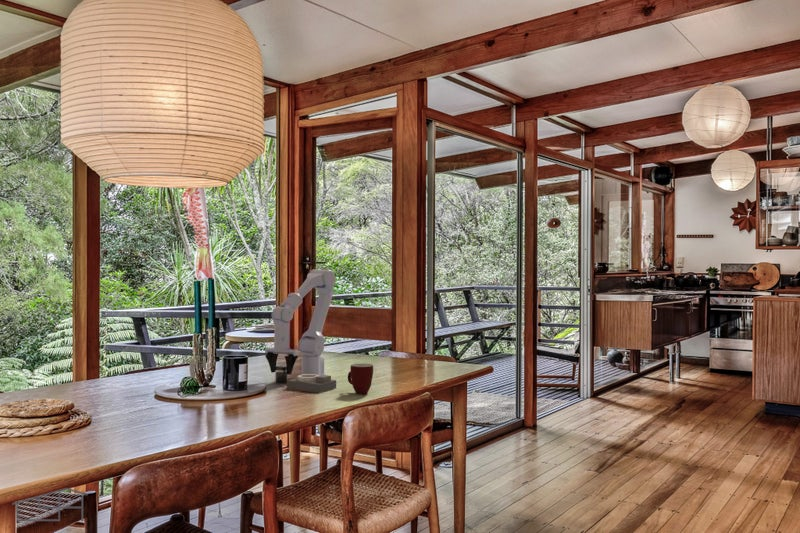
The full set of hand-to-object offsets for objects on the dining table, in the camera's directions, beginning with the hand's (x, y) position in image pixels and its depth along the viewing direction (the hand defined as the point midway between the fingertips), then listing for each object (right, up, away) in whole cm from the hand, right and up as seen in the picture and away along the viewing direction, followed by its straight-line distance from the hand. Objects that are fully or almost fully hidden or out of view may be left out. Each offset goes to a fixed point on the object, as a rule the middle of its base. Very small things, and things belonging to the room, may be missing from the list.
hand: (281, 373), depth 242 cm
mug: (+31, -4, -18) cm, 36 cm away
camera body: (+13, -4, -11) cm, 18 cm away
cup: (-28, -4, -9) cm, 30 cm away
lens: (0, -4, 0) cm, 4 cm away
